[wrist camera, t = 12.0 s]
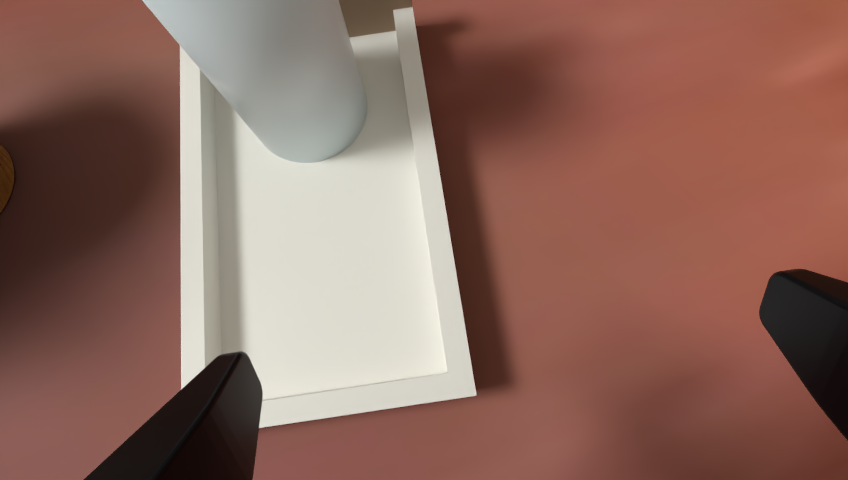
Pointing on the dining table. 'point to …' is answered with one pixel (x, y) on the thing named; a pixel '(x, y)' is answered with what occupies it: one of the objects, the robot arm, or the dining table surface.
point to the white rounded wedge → (277, 68)
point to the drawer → (324, 245)
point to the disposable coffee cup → (5, 177)
